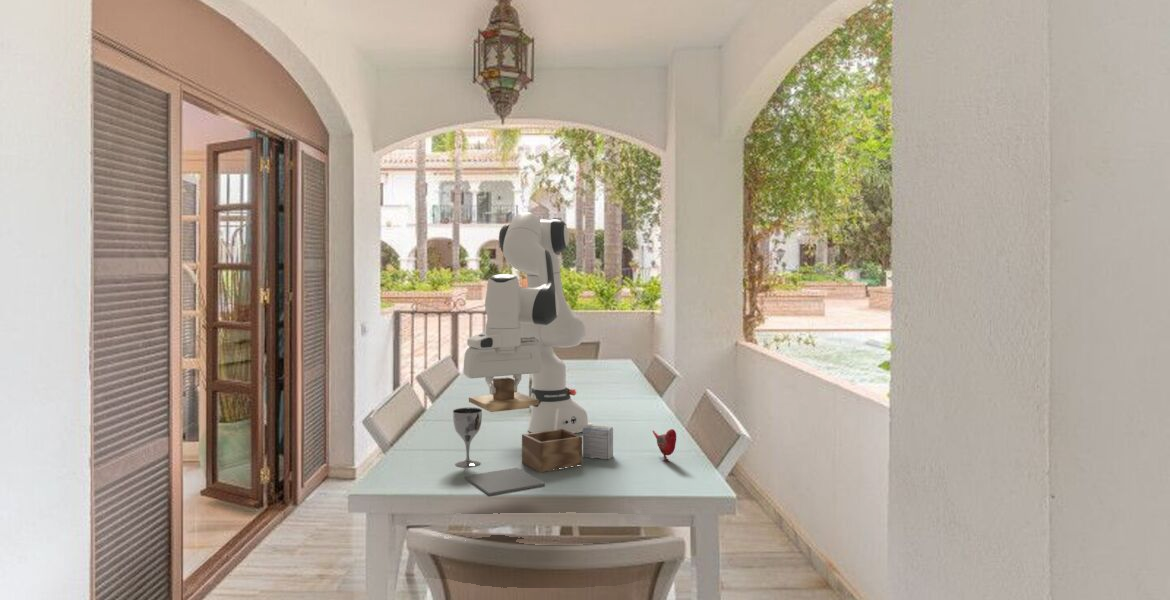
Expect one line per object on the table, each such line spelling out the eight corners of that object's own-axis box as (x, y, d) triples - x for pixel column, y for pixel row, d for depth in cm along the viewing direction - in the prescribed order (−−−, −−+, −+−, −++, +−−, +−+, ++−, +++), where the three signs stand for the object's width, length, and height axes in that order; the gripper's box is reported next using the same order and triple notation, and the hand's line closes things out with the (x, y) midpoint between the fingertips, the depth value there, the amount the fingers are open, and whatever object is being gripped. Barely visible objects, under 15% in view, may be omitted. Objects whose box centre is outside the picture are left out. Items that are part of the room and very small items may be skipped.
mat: (517, 469, 194) (517, 467, 194) (544, 485, 180) (544, 483, 180) (464, 478, 186) (464, 475, 186) (488, 495, 173) (488, 493, 173)
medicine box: (613, 456, 208) (613, 426, 207) (608, 460, 204) (609, 430, 203) (587, 453, 210) (587, 424, 210) (582, 457, 206) (582, 427, 206)
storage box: (562, 456, 207) (562, 429, 207) (582, 465, 198) (582, 437, 197) (522, 462, 201) (522, 434, 200) (539, 472, 191) (539, 443, 191)
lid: (518, 400, 191) (518, 373, 191) (539, 408, 181) (539, 380, 180) (468, 405, 184) (468, 377, 183) (487, 414, 174) (487, 384, 173)
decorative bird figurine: (670, 467, 196) (670, 431, 196) (647, 451, 213) (648, 417, 213) (680, 467, 197) (680, 430, 196) (657, 450, 214) (657, 417, 213)
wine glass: (469, 469, 194) (468, 414, 193) (447, 465, 198) (446, 411, 197) (488, 462, 201) (487, 409, 200) (466, 458, 205) (466, 406, 204)
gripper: (534, 335, 189) (534, 387, 190) (461, 339, 179) (461, 394, 180) (545, 337, 184) (545, 391, 185) (470, 342, 174) (470, 398, 174)
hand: (503, 393), depth 182 cm, fingers closed on lid, 4 cm apart
